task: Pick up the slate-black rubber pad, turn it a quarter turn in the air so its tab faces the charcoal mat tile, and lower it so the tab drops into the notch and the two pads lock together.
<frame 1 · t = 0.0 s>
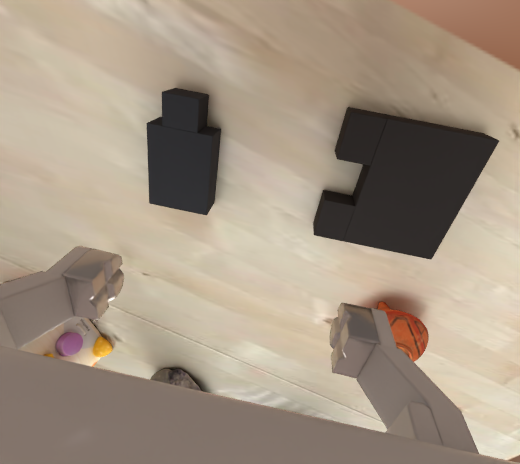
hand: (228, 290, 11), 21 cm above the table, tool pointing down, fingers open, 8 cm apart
pot: (384, 316, 39), on the table
slate pad: (189, 162, 31), on the table
mat tile: (389, 183, 30), on the table
mineral rock: (186, 389, 53), on the table
shape sorter: (70, 322, 48), on the table
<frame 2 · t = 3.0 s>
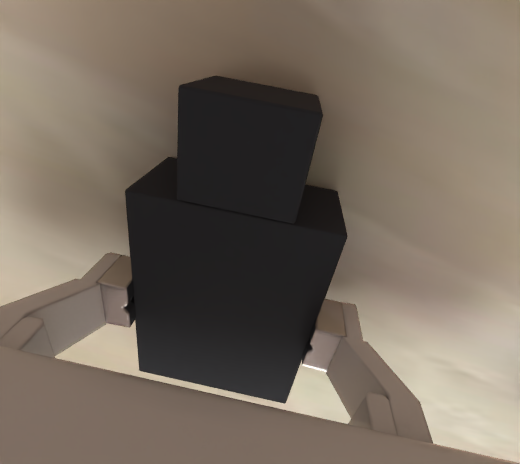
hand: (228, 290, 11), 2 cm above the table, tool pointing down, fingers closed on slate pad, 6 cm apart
slate pad: (238, 264, 13), on the table, touching gripper
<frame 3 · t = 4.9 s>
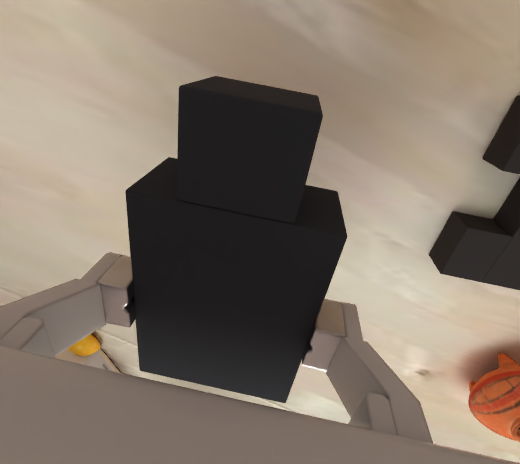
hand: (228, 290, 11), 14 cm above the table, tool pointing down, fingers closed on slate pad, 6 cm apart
pot: (499, 368, 30), on the table
slate pad: (238, 264, 13), point 12 cm above the table, touching gripper
shape sorter: (89, 365, 39), on the table
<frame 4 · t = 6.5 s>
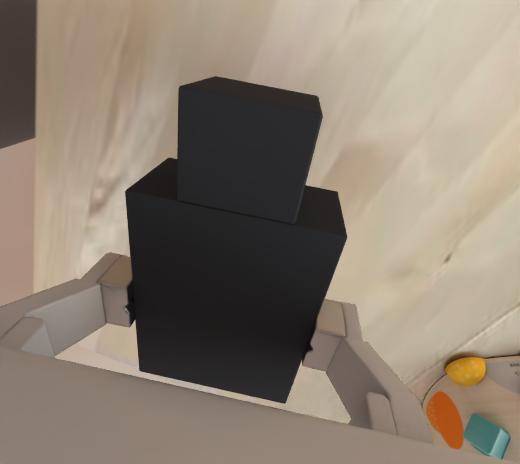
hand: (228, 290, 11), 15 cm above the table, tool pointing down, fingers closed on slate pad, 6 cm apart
slate pad: (238, 264, 13), point 13 cm above the table, touching gripper
shape sorter: (515, 377, 33), on the table
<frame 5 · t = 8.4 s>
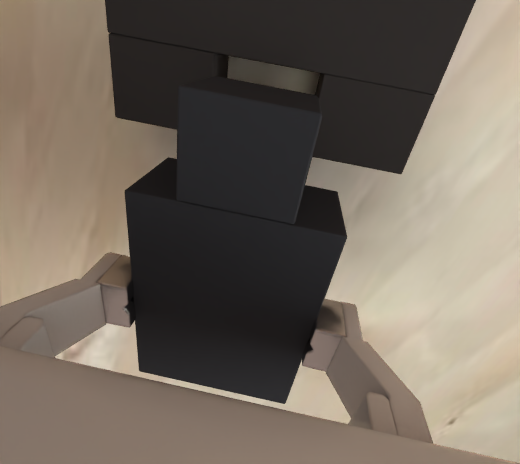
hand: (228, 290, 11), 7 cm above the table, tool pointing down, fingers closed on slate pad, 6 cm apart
slate pad: (238, 264, 13), point 5 cm above the table, touching gripper
when the fingers open (2 cm above the table, at t = 10.1 s): slate pad stays where it is, on the table.
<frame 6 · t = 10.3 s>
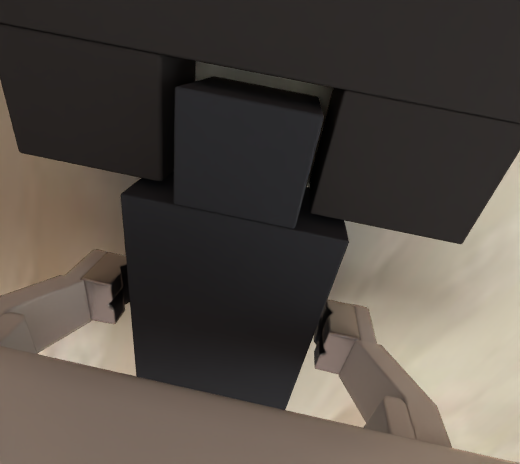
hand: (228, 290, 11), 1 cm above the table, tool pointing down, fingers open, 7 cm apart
slate pad: (237, 268, 12), on the table
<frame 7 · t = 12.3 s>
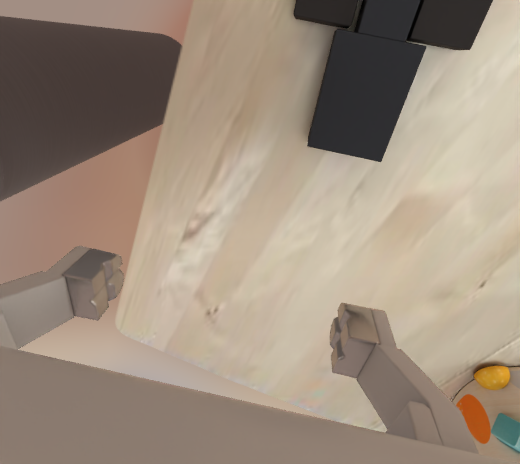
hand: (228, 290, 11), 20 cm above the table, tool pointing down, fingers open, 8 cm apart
slate pad: (356, 96, 25), on the table
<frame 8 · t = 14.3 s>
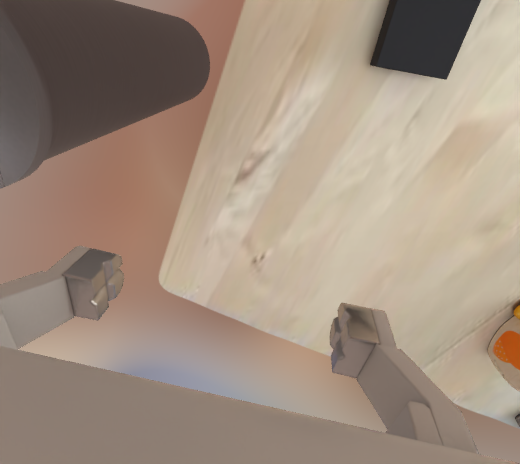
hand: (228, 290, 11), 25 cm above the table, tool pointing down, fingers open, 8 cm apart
slate pad: (420, 19, 26), on the table
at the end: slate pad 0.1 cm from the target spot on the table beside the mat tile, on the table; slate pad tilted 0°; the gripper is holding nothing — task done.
